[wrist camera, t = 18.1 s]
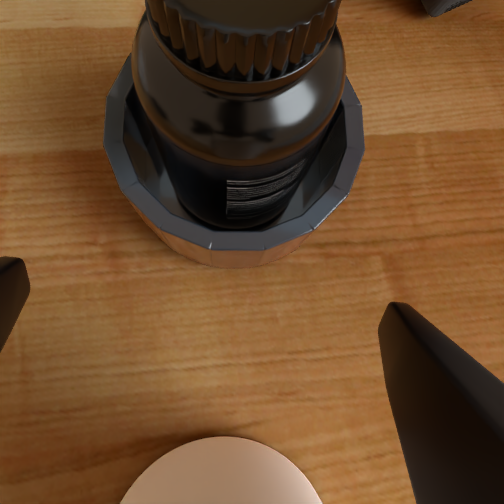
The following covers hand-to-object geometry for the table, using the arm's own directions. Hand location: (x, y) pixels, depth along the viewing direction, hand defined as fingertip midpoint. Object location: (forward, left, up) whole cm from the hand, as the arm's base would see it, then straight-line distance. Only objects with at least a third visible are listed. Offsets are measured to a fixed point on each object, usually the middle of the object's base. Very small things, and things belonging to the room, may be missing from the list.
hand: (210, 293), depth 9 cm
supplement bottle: (+5, -6, -9) cm, 12 cm away
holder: (+5, -6, -10) cm, 13 cm away
